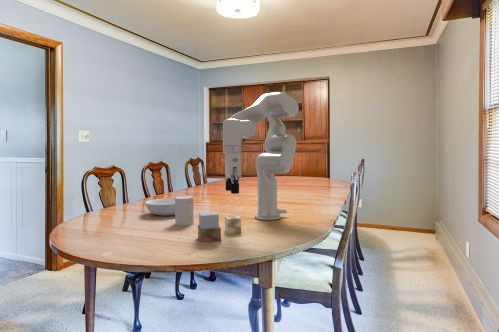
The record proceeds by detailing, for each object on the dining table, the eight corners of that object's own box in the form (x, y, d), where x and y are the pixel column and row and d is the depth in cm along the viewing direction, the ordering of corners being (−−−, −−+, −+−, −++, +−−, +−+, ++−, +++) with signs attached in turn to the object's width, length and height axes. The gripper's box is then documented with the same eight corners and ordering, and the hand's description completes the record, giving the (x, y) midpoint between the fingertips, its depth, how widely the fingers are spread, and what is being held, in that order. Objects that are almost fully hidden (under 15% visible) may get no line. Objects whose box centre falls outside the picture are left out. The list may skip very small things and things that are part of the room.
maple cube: (237, 229, 136) (237, 215, 136) (241, 232, 131) (241, 218, 130) (225, 230, 134) (224, 216, 134) (227, 234, 129) (227, 219, 129)
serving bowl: (195, 212, 171) (195, 199, 171) (165, 220, 153) (165, 206, 153) (168, 208, 182) (167, 196, 182) (137, 215, 165) (136, 202, 164)
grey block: (216, 223, 126) (215, 211, 125) (218, 227, 119) (218, 214, 119) (199, 225, 124) (199, 212, 124) (201, 229, 118) (201, 215, 117)
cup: (189, 226, 142) (189, 199, 141) (172, 225, 144) (171, 198, 143) (196, 221, 150) (195, 196, 149) (179, 221, 152) (179, 195, 151)
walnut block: (217, 236, 126) (217, 223, 126) (221, 241, 119) (220, 228, 119) (198, 237, 124) (198, 224, 124) (200, 243, 117) (200, 229, 117)
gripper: (246, 150, 123) (246, 194, 124) (236, 150, 140) (236, 189, 141) (227, 149, 121) (227, 195, 122) (219, 150, 138) (219, 189, 138)
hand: (232, 192), depth 131 cm, fingers open, 9 cm apart
